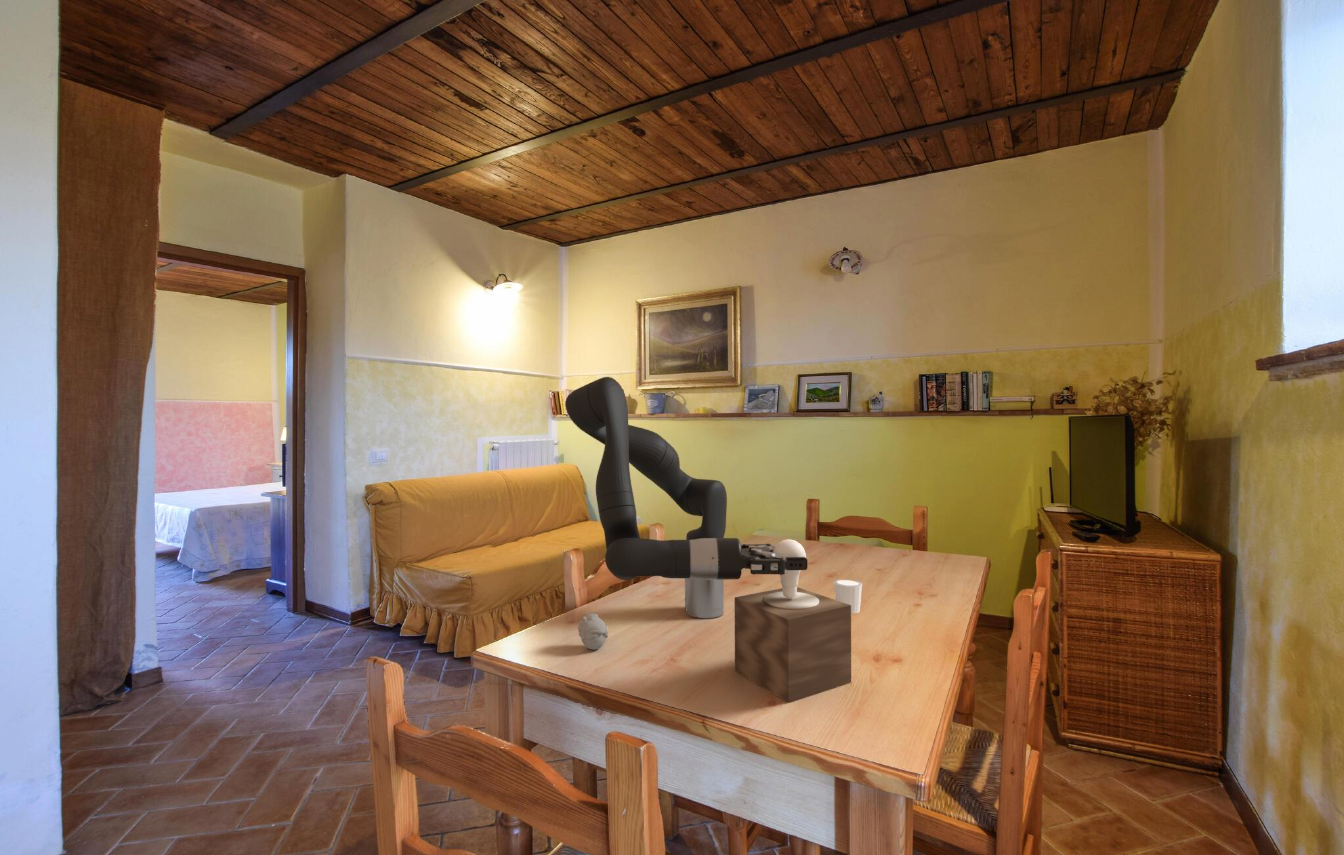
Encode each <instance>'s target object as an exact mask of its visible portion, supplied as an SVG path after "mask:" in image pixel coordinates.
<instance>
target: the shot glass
mask: <svg viewBox="0 0 1344 855" xmlns="http://www.w3.org/2000/svg"><path fill="white" fill-rule="evenodd" d="M833 585H834V594H835V595H834V596H835V597H834V599H835V600H837V601H840V602H843V603H846V604H849V605H851V615H853V614H854V615H855V614H859V613H860V612H861V602H862V601H861V600H862V593H863V583H862V582H861V581H859V580H855V579H836V580H834V581H833Z"/></svg>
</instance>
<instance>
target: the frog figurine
mask: <svg viewBox="0 0 1344 855" xmlns="http://www.w3.org/2000/svg"><path fill="white" fill-rule="evenodd" d="M577 630H578V635H579V637H580V639H581V642H582V644H583V645H584V646H585V648H587V649H589V650H593V651H595V650H599V649H600V648H602V647H603V645H604V644H605V643H606V639H608V636H609V635H608V634H609V629H608V626H607V625H606V623H605V621H604V620H602V618H600V617H599V615H598V614H597V613H590V614H586V615H585V616H584V615H583V616H582V618H580V621H579V623H578V624H577Z"/></svg>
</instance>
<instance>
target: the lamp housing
mask: <svg viewBox="0 0 1344 855" xmlns="http://www.w3.org/2000/svg"><path fill="white" fill-rule="evenodd" d="M734 672H736V673H738V674H739V675H741V676H743V677H745V678H747V679H748V680H750V681H751V682H754V683H755V684H756V685H758V686H760V687H761V688H763V689H765V690H766V691H768V692H770V693H772V694H773V695H775V696H776V697H778V698H780V699H781V700H783V701H784V702H787V703H788V704H789V703H792V702H795V701H799V700H802V699H804V698H808V697H811V696H814V695H817V694H820V693H824V692H826V691H828V690H832V689H835V688H837V687H842V686H845V685H847V684H850V683H851V684H852V614H851V605H849V604H846V603H843V602H840V601H837V600H836V599H835V598H830V597H829V596H828V597H827V596H824V595H821V594H820V593H816V592H812V591H810V590H807V589H805V588H804V589H803V588H801V587H798V586H797V595H796V597H793V599H787V597H785V596H784V595H783V589H782V588H776V589H770V590H766V591H765V590H764V591H761V592H755V593H750V594H749V593H748V594H745V595H739V596H735V597H734Z"/></svg>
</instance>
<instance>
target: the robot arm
mask: <svg viewBox="0 0 1344 855" xmlns="http://www.w3.org/2000/svg"><path fill="white" fill-rule="evenodd" d="M564 406H565V410H566V413H567V415H568V417H569V419H570V420H571V421H572V423H573V425H575V426H576V427H577V428H578V429H579V430H580V431H582V432H584V433H585V434H586V435H588V436H590V437H591V438H593V439H595V440H596V441H598V443H599V442H600V443H601V444H603V445H604V448H603V454H602V457H601V461H600V464H599V467H598V470H597V474H596V478H595V496H596V503H597V510H598V515H599V521H600V524H601V527H602V529H603V533H604V540H605V549H606V551H605V554H604V555H605V556H604V560H605V565H606V568H607V569H608V571H609V572H610V573H611V574H612V575H613V576H614V577H615V578H617V579H619V580H622V581H630V580H635V579H636V578H639V577H662V578H665V579H684V581H685V582H684V608H685V609H687V610H686V614H687V615H688V616H690V617H693V618H697V617H698V619H714V618H718V617H721V616H722V615H724V609H725V608H724V607H725V606H724V605H725V604H724V599H725V598H724V597H725V596H724V593H725V591H724V590H725V589H724V586H725V585H724V581H725V580H739V579H741V576H742V570H744V569H747V570H750V574H751V575H754V576H755V575H779V576H780V575H783V574H785V572H786V570H801V571H807V569H808V558H807V557H806V558H805V557H784V556H776V555H775V553H773V550H774V548H775V546H776V545H772V544H770V543H759V544H758V543H755V544H750V543H749V544H746V543H743V544H741V540H740V539H739V538H737V537H724V536H725V533H726V530H727V529H726V527H727V508H728V496H727V491H726V487H725V485H724V484H723V482H722V481H720V480H718V479H717V480H715V479H704V478H696V477H693V476H691V475H689V474H687V473H686V472H684V470H682V469H681V468H680V467H681V464H680V457H679V454H678V452H677V450H676V449H675V447H673V446H672V444H671V443H669V442H668V441H667V440H666V439H665V438H664V437H662V436H661V435H660V434H659V433H657V432H655V431H652V430H650V429H646V428H644V427H639V426H636V425H631V424H629V410H628V401H627V396H626V393H625V391H624V389H623V387H622V385H621V384H620V383H619V381H617V380H616V379H615V378H613V377H611V376H603V377H601V378H598V379H596V380H592V382H589V383H587V384H585V385H583V386H581V387H578V388H576V389H575V390H573V391H571V392H570V393H569V394H568V395H567V397H566V398H565V404H564ZM630 465H631V466H632V467H633V468H635V469H636V470H637V471H638V472H639V473H640V474H642V475H643V476H644V477H645V478H647V479H649V480H650V481H651V482H652V483H653V484H655V485H656V486H658V488H659V489H661V490H662V491H664V492H665V493H666V494H667V495H668V496H669V497H670V498H671V500H673V502H675V504H676V505H677V506H678V507H680V509H681V510H682V511H683V512H685V513H686V514H688V515H691V516H695V517H701V525H700V526H699V527H697V528H695V529H691V530H689V531H688V532H687V533H686V535H685V536H686V539H669V540H668V539H667V540H666V539H665V540H659V539H651V538H642V537H641V535H640V531H639V527H638V521H637V519H638V518H637V509H636V503H635V498H634V492H633V487H632V479H631V471H630ZM775 563H778V567H776V566H775ZM685 609H684V610H685Z"/></svg>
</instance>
